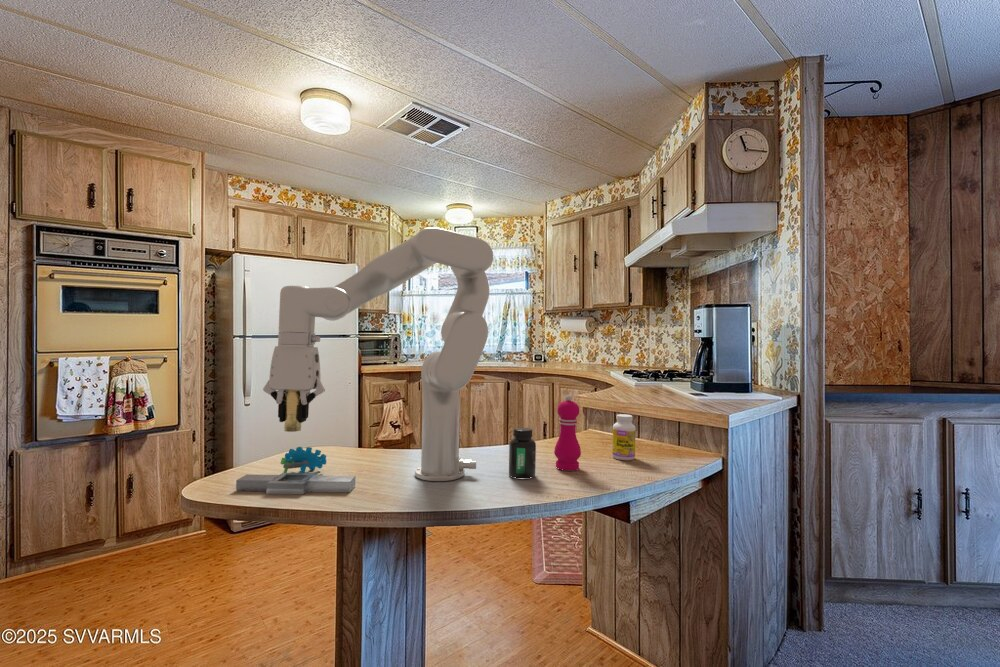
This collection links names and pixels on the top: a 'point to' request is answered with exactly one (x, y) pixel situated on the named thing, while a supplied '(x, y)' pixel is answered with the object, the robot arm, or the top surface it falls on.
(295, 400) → the gold square peg
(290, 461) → the gear
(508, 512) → the top surface
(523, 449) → the supplement bottle
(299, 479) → the grey base plate
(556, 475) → the top surface
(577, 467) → the pepper mill
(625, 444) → the supplement bottle
